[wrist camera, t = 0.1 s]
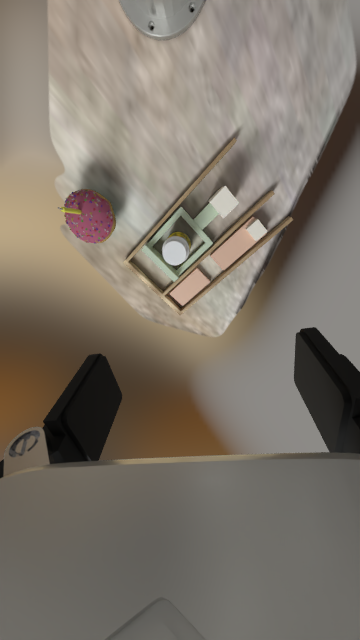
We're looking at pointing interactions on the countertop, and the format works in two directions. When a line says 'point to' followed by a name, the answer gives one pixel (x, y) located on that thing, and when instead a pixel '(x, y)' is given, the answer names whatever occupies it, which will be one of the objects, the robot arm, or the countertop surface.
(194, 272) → the broken strip
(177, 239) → the supplement bottle
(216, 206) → the green handled square frame
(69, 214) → the cupcake
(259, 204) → the lane rails
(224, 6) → the countertop surface
